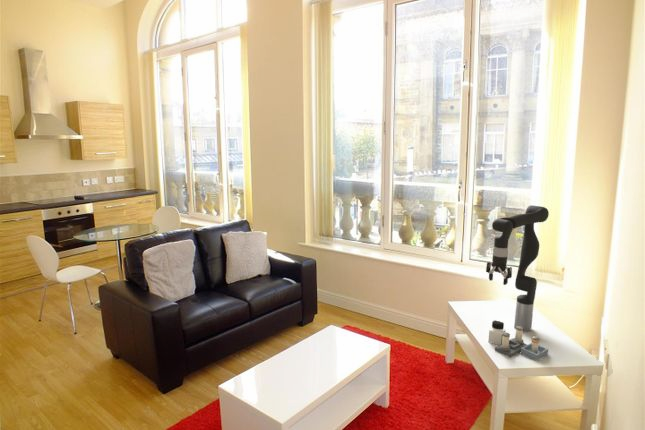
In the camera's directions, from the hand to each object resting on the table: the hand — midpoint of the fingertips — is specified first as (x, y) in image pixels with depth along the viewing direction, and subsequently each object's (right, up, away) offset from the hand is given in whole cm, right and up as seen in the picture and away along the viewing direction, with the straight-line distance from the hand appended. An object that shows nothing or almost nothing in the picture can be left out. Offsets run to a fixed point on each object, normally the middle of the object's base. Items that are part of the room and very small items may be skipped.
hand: (497, 282), depth 232 cm
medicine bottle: (+1, -34, +3) cm, 34 cm away
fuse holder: (+5, -36, -6) cm, 37 cm away
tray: (+15, -37, -11) cm, 41 cm away
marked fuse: (+15, -36, -11) cm, 40 cm away
